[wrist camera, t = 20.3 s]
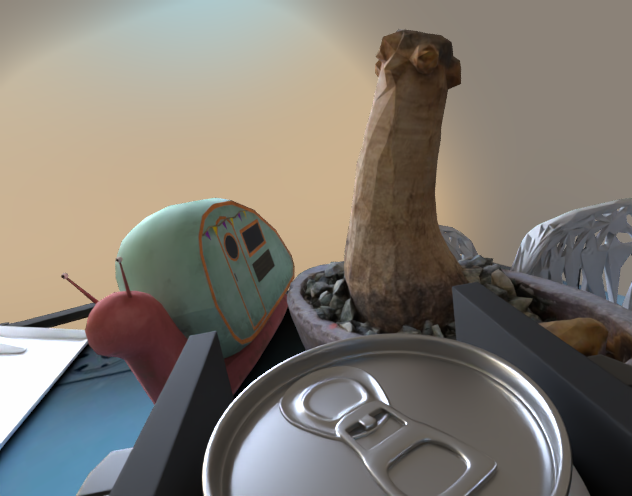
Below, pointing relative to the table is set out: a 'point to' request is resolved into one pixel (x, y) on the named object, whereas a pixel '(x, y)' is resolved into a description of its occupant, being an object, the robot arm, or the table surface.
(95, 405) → the table surface
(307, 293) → the planter
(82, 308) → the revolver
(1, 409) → the white finned panel
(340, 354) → the can
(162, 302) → the toy snail
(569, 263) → the grey curved openwork piece
